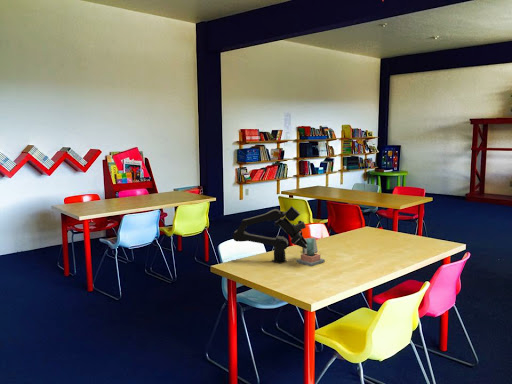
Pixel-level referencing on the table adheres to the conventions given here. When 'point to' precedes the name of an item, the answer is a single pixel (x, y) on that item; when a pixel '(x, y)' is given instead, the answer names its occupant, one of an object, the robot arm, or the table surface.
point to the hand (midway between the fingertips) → (306, 246)
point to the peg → (310, 247)
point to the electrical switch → (314, 246)
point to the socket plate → (310, 259)
